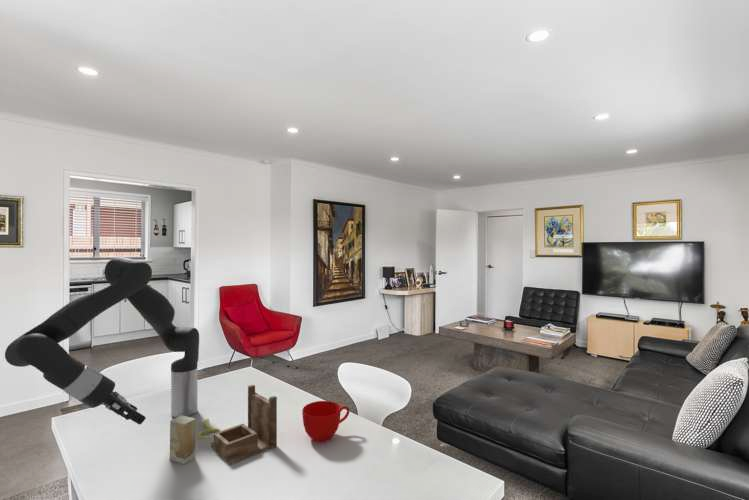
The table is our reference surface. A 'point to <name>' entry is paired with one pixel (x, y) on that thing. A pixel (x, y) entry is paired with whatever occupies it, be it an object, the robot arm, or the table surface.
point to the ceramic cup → (322, 419)
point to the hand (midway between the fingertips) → (138, 416)
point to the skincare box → (182, 439)
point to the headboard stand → (250, 430)
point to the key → (207, 430)
